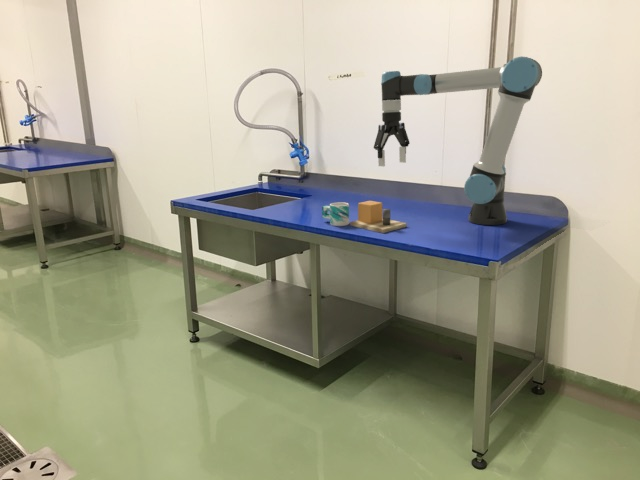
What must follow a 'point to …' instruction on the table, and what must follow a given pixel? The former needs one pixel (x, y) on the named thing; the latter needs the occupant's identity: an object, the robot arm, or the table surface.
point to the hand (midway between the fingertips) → (392, 164)
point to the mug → (337, 213)
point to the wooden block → (370, 212)
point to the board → (381, 224)
